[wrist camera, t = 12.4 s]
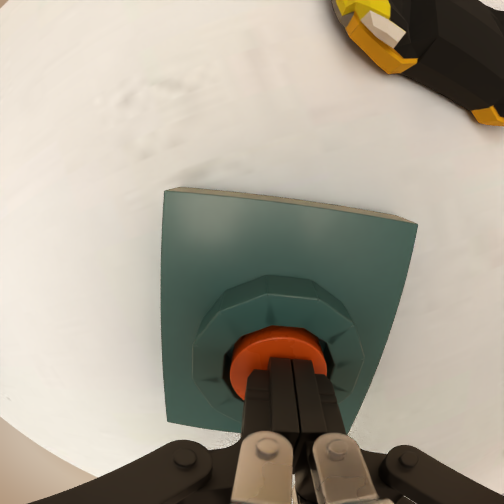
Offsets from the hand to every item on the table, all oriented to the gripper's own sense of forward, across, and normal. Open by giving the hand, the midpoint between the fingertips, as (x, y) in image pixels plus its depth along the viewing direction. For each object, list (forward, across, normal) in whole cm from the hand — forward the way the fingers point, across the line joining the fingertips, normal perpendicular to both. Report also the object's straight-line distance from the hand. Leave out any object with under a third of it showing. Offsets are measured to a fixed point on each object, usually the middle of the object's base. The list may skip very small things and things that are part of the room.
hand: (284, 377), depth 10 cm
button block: (+4, 0, 0) cm, 4 cm away
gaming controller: (+4, -7, -17) cm, 19 cm away
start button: (+2, 0, 0) cm, 2 cm away
